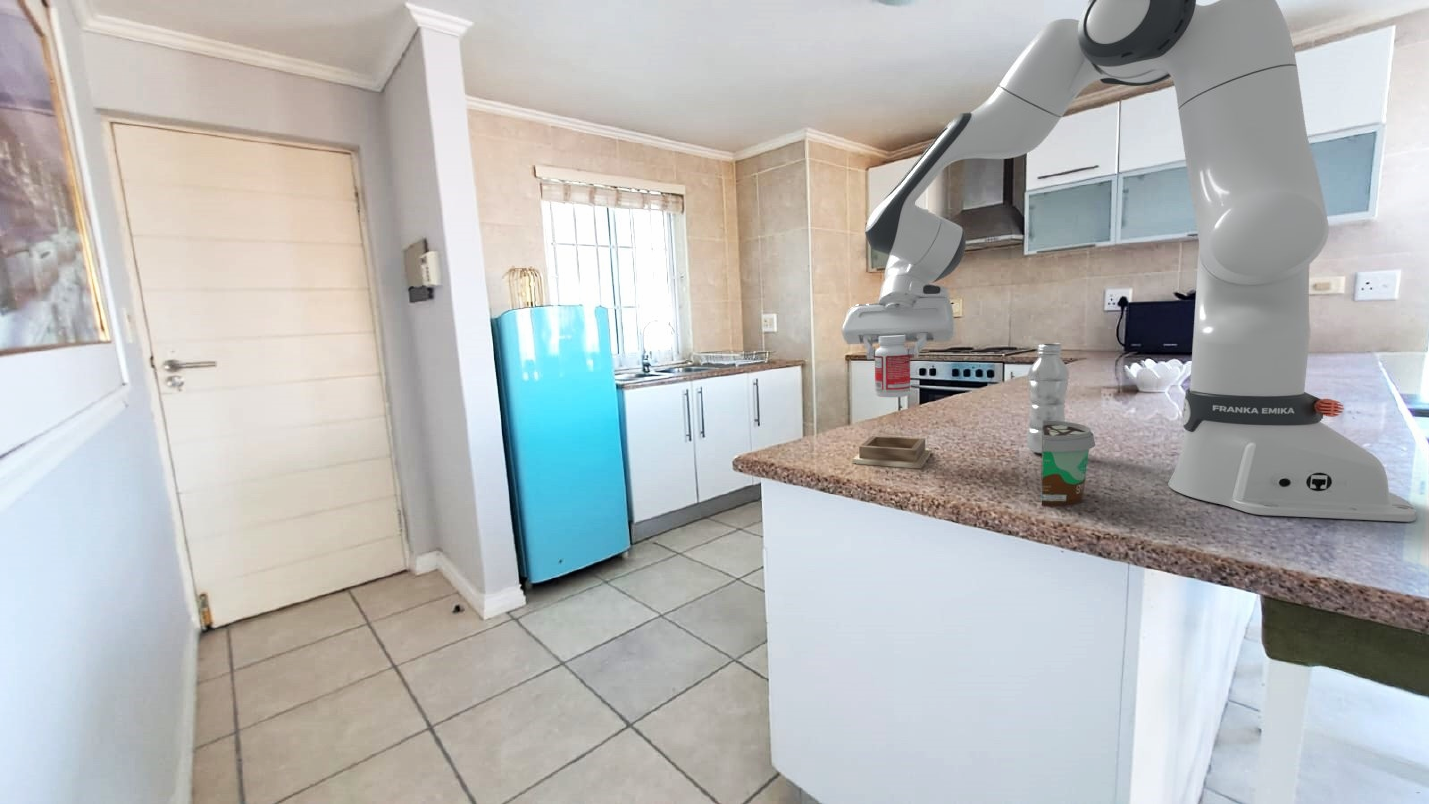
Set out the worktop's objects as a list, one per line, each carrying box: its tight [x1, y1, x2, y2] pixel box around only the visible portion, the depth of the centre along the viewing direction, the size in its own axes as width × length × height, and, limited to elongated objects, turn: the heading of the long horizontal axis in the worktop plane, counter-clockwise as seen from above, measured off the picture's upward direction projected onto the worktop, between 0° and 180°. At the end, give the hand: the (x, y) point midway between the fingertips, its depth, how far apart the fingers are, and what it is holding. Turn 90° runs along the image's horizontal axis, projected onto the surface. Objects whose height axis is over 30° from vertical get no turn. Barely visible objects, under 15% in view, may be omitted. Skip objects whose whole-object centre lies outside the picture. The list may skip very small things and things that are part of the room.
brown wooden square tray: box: [852, 435, 933, 469], centre depth 104 cm, size 12×12×3 cm
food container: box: [1040, 420, 1096, 507], centre depth 77 cm, size 12×6×10 cm, turn 150°
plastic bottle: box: [1025, 343, 1070, 455], centre depth 100 cm, size 6×7×20 cm
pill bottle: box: [874, 335, 911, 398], centre depth 102 cm, size 6×6×11 cm
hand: (891, 356), depth 101 cm, fingers closed on pill bottle, 6 cm apart
